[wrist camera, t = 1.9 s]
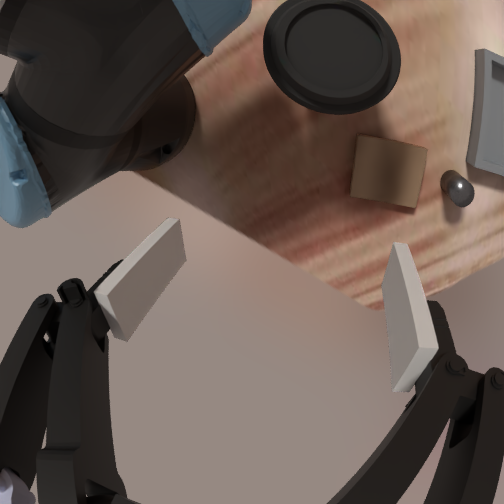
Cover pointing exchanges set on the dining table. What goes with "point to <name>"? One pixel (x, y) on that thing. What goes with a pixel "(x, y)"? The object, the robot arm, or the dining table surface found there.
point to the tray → (487, 114)
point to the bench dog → (457, 188)
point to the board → (387, 170)
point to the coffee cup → (331, 54)
